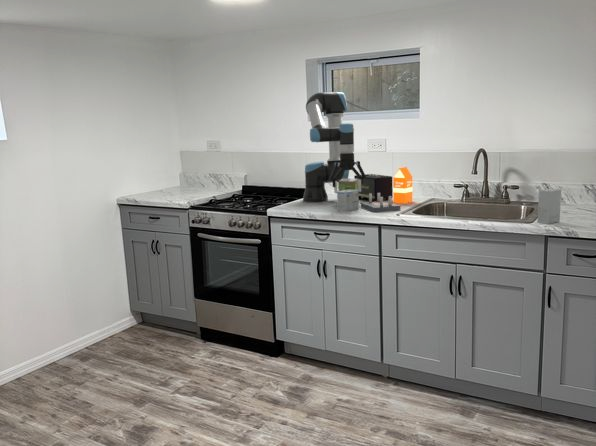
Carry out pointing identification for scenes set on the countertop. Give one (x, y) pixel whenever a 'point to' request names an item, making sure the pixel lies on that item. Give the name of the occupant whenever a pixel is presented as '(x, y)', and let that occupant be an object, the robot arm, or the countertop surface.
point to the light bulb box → (347, 200)
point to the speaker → (376, 186)
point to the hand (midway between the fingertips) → (347, 192)
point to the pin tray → (380, 209)
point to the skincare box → (549, 206)
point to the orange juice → (402, 186)
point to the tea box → (347, 184)
